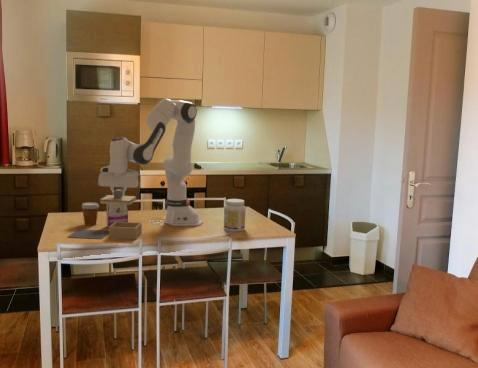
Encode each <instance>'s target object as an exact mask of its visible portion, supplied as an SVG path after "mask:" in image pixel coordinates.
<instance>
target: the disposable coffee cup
mask: <svg viewBox="0 0 478 368" xmlns="http://www.w3.org/2000/svg"><path fill="white" fill-rule="evenodd" d="M99 207H100V205H99V203H98V202H90V201H89V202H83V203H82V204H81V208H82V209H81V210H82V215H83V222H84V226H87V227H90V226H96V225H97V222H98V221H97V219H98V211H99Z"/></svg>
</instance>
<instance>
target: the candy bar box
mask: <svg viewBox="0 0 478 368" xmlns="http://www.w3.org/2000/svg"><path fill="white" fill-rule="evenodd" d="M105 205H106V227H107V228H108V229H109V227H110V226H111V225H112V224H113V223H115V222H129V216H128V215H129V211H128V210H129V207H128V206H129V205H121V204H105Z"/></svg>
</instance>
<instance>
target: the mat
mask: <svg viewBox="0 0 478 368" xmlns="http://www.w3.org/2000/svg"><path fill="white" fill-rule="evenodd" d="M106 236H109V230H102V229H99V230H98V229H81V228H79V229H77V230H75V231H74V232H73V233H71V234H70V235H68V236H67V238H68V239H71V238H72V239H73V238H74V239H88V240H89V239H90V240H91V239H95V240H102V239H104V238H105V237H106Z"/></svg>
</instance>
